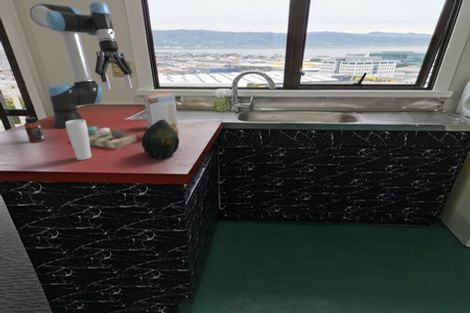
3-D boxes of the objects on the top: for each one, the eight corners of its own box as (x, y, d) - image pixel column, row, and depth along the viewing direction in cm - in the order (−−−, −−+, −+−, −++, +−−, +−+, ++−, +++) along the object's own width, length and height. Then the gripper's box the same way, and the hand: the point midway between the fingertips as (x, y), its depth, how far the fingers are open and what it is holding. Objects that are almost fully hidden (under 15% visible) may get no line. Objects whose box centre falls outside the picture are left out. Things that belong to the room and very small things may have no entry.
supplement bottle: (48, 139, 121) (41, 117, 117) (35, 143, 116) (27, 119, 112) (39, 138, 123) (32, 116, 119) (26, 142, 118) (18, 118, 114)
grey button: (109, 136, 113) (108, 131, 112) (117, 133, 117) (116, 129, 116) (117, 137, 111) (116, 132, 110) (125, 134, 116) (125, 130, 115)
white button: (96, 134, 116) (95, 130, 115) (104, 131, 120) (104, 127, 119) (104, 135, 114) (103, 131, 113) (112, 132, 118) (112, 128, 117)
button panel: (75, 142, 118) (73, 135, 116) (96, 135, 128) (95, 129, 127) (117, 149, 109) (116, 142, 108) (136, 141, 119) (135, 134, 118)
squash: (136, 151, 91) (160, 118, 91) (134, 140, 104) (155, 112, 104) (168, 169, 98) (190, 139, 98) (162, 158, 111) (182, 131, 111)
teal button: (83, 132, 118) (82, 128, 117) (92, 129, 123) (91, 125, 122) (91, 133, 117) (90, 129, 116) (100, 130, 121) (99, 126, 120)
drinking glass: (79, 155, 102) (70, 119, 97) (96, 154, 103) (88, 119, 97) (71, 161, 96) (60, 123, 90) (89, 161, 96) (80, 123, 91)
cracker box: (172, 132, 134) (169, 92, 126) (179, 134, 130) (175, 93, 122) (148, 137, 125) (142, 95, 117) (154, 140, 121) (148, 96, 113)
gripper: (89, 35, 101) (103, 88, 106) (133, 43, 123) (143, 87, 129) (77, 39, 104) (91, 91, 109) (121, 46, 126) (131, 89, 131)
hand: (119, 89), depth 119 cm, fingers open, 13 cm apart
